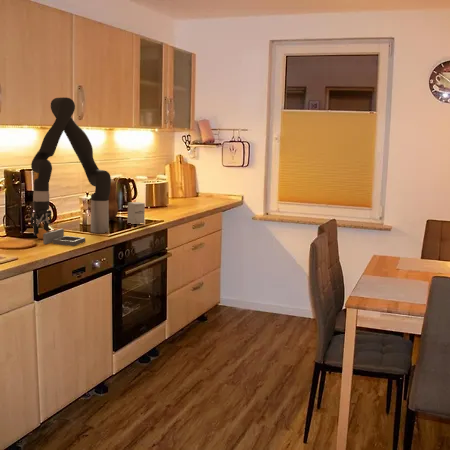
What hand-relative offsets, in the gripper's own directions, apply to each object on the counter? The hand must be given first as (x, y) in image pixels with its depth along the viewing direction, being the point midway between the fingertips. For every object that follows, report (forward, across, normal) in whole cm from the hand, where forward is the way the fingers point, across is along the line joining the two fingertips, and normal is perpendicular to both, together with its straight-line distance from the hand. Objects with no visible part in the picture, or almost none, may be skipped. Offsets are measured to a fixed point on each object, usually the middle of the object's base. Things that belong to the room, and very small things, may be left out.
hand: (41, 232), depth 296 cm
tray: (+3, +2, +17) cm, 17 cm away
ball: (+1, 0, 0) cm, 1 cm away
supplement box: (+3, -64, +21) cm, 68 cm away
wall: (+3, +2, +8) cm, 9 cm away
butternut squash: (+3, -66, +1) cm, 66 cm away
